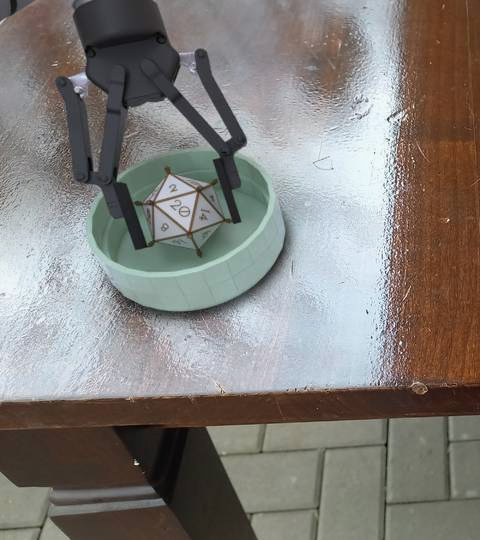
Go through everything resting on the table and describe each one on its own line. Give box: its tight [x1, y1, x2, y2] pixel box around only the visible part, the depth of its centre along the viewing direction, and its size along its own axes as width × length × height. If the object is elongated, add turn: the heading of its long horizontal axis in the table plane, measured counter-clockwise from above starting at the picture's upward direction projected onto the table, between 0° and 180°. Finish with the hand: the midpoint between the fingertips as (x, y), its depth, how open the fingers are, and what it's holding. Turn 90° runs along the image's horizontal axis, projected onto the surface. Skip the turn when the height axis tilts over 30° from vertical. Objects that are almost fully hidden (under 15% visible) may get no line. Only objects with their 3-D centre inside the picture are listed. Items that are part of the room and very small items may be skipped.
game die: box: [133, 165, 232, 258], centre depth 70 cm, size 9×8×10 cm
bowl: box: [84, 147, 286, 312], centre depth 72 cm, size 18×18×6 cm
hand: (190, 235), depth 68 cm, fingers closed on game die, 8 cm apart
